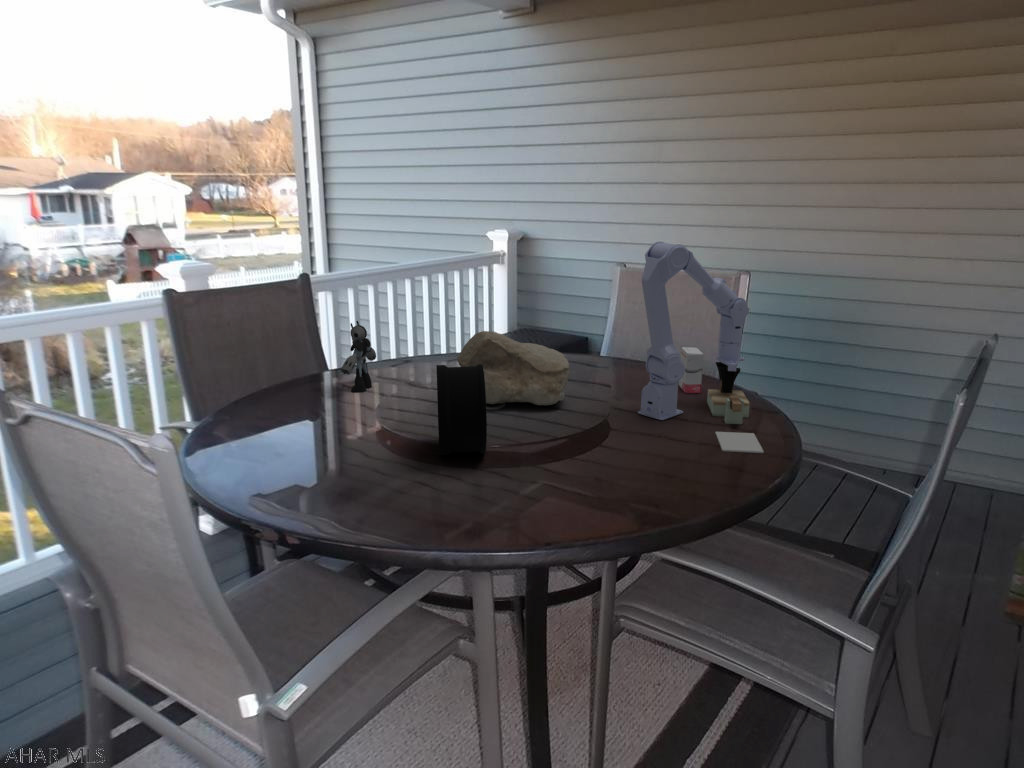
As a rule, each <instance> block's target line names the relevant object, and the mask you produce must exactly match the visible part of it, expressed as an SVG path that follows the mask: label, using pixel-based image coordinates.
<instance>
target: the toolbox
mask: <svg viewBox="0 0 1024 768" xmlns="http://www.w3.org/2000/svg"><path fill="white" fill-rule="evenodd" d="M706 397H707V400H706V404H707V406H708V408H709V410H710V413H711V415H712V417H722V418H724V420H723V421H724V423H725V425H726V424H727V425H742V424H743V420H744V419H743V418H749V416H750V407H744V401H743V399H740V402H741V403H742V408H741V412H733V411H732V409H731V407H730V399H729V398H726V406H719V405H713V403H712V400H711V398H710V396H709V393H708V392H707V396H706Z"/></svg>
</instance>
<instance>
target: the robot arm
mask: <svg viewBox="0 0 1024 768" xmlns="http://www.w3.org/2000/svg"><path fill="white" fill-rule="evenodd" d="M644 257H645V258H644V259H645V263H644V268H643V272H642V276H641V284H642V292H643V293H642V294H643V299H644V306H645V313H646V319H647V324H648V333H649V337H650V338H649V339H650V345H651V346H650V347H648V349H647V350H646V355H647V356H646V361H645V369H646V371H647V373H649V378H650V379H649V382H648V383H647V384H646V385H645V386H643V388H642V390H641V396H640V397H641V398H640V410H639V411H637V414H638V415H643V416H646V417H649V418H653V419H656V420H659V421H664V420H668V419H670V418H673V417H675V416H678V415H681V414H684V411H683V410H681V409H678V407H677V406H678V391H679V381H680V380H681V379H682V377H683V375H684V373H685V366H684V363H683V362H682V361H681V353H680V352H679V350H678V349H677V348H676V346H675V344H674V339H673V333H672V326H671V319H670V313H669V312H670V311H669V306H668V299H667V298H668V297H667V292H666V291H667V290H666V284H667V283H668V282H669V280H670V279H672V278H673V277H674V276H676V275H677V274H679V273H680V272H681V271H683V272H684V273H686V274H687V275H688V276H689V277H690V278H691V279H693V280H694V281H695V282H696V283H697V284H698V285H700V287H702V289H701V290H702V291H701V292H702V295H704V296H705V298H706V299H707V300H708V301H709V302H711V304H712V305H714V306H715V308H716V312H717V314H718V315H720V323H719V335H718V336H719V337H718V346H717V347H718V349H717V356H716V362H715V365H716V368H717V371H718V379H719V380H720V379H721V381H722V391H723V392H725V393H731V391H732V388H733V389H734V384H735V381H736V379H737V377H738V375H739V374H740V372H741V368H740V367H737V366H738V364H739V363H740V362H745V357H743V356H741V350H742V349H741V348H742V337H743V336H742V335H743V327H744V324H745V320H746V318H747V316H748V315H749V312H750V308H749V304H748V303H747V300H746V299H744V298H743V297H738V294H737V292H736V291H735V290H733V289H731V288H730V287H729V286H728V285H727V284H726V283H727V281H726V280H725V278H720V277H712V275H711V274H710V273H709V272H708V271H707V270H706V268H705V267H704V266H703V265H702V264H701V263H700V262H699V261H698V260H697V258H696V257H695V256H694V253H693V252H692V251H690V250H689V249H688V248H687V247H686V246H685V245H684V244H680V243H677V244H674V243H668V242H663V241H656V242H654V243H652V245H651V246H650V247H649V248H648V249H647V251H646V252H645V254H644Z"/></svg>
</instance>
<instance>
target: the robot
mask: <svg viewBox="0 0 1024 768" xmlns="http://www.w3.org/2000/svg"><path fill="white" fill-rule="evenodd" d="M350 328H351V330H350V332H349V333H350V336H351V341H352V342H351V346H350V352H353V353H352V355H350V356H348V357H347V358H346V360H345V361H344V362H343V365H342V366H341V372H342V373H343V375H348V376H350V374H351V373H352V372H353V370H355V377H354V381H353V382H354V384H353V386H352V387H351V390H350V391H351V392H352V393H355V394H358V393H366V392H367V389H371V388H372V387H373V385H372V378H371V376H370V374H369V372H368V371H369V370H368V364H367V360H369V361H375V360H376V359H377V352H376V351H375V350H376V349H374V348H373V347H372V343H371V340H370V339H369V338H367V336H368V331H367V329H366V328H365V327H364V325H361V324H360V323H359V320H356V325H353V323H352V322H351V323H350ZM355 367H356V369H355Z"/></svg>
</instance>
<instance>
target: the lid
mask: <svg viewBox="0 0 1024 768" xmlns="http://www.w3.org/2000/svg"><path fill="white" fill-rule="evenodd" d="M708 393H709V396H710V398H711V400H712V403H713V405H719V406H726V398H729V396H738V398H739V400H740V399H743V401H744V407H750V406H751V403H750V401H749V400H748V398H747V396H746V395H745V393H744V391H743V390H738V389H737V390H736V389H735V390H734V387H733V388H732V391H731V393H725V392H723V391H722V381H721V379H720V378H719V389H715V388H714V389H713V388H712V389H709V388H707V394H708Z"/></svg>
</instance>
